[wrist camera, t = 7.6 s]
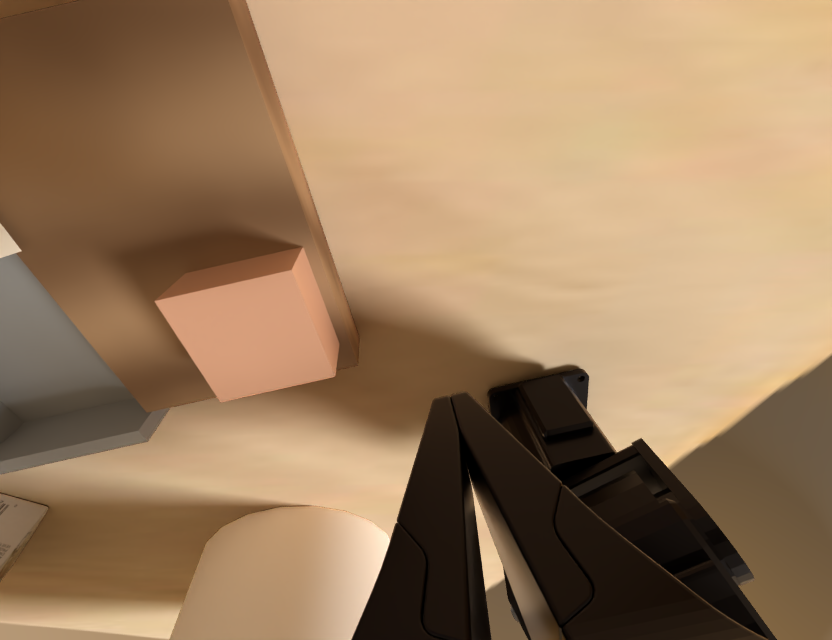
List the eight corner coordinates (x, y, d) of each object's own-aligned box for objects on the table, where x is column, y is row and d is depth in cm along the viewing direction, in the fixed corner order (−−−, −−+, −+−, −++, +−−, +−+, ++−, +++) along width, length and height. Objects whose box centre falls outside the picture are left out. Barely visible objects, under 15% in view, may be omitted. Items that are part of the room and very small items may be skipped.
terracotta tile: (339, 343, 17) (335, 376, 15) (239, 366, 18) (220, 402, 15) (302, 246, 15) (291, 270, 13) (185, 273, 15) (154, 301, 13)
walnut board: (359, 338, 20) (358, 365, 18) (170, 380, 20) (146, 412, 18) (242, -9, 13) (216, -32, 11) (-61, 62, 13) (-148, 53, 11)
